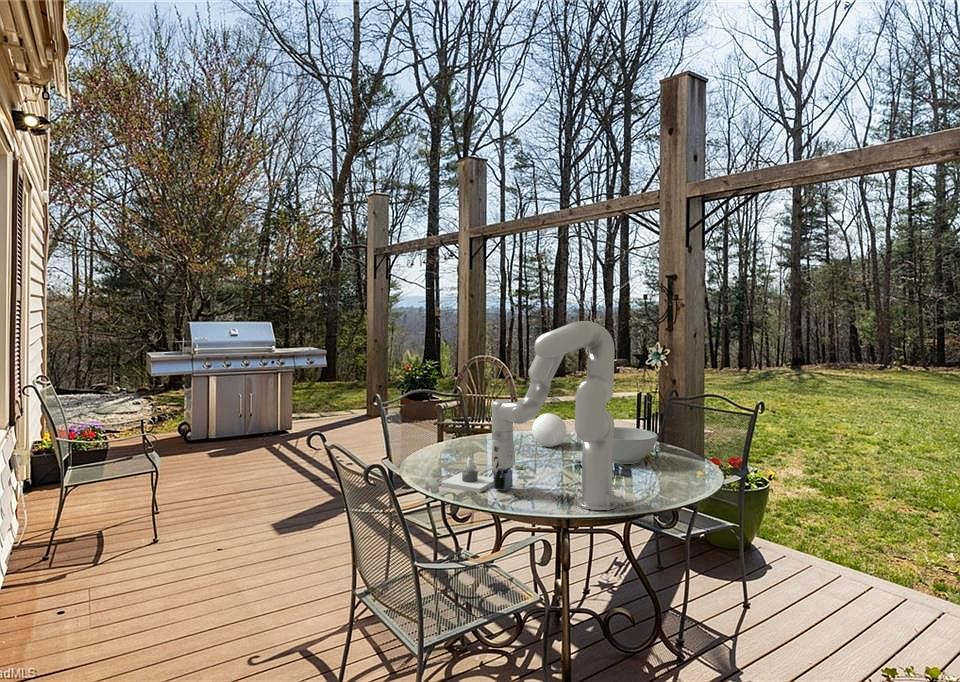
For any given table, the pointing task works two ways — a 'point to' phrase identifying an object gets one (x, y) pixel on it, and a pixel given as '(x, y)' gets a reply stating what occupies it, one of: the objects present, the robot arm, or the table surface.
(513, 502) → the table surface
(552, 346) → the robot arm
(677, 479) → the table surface
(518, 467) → the adjustable wrench
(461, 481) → the shaft mount
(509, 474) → the coupler
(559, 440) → the decorative orb
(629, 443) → the decorative bowl
